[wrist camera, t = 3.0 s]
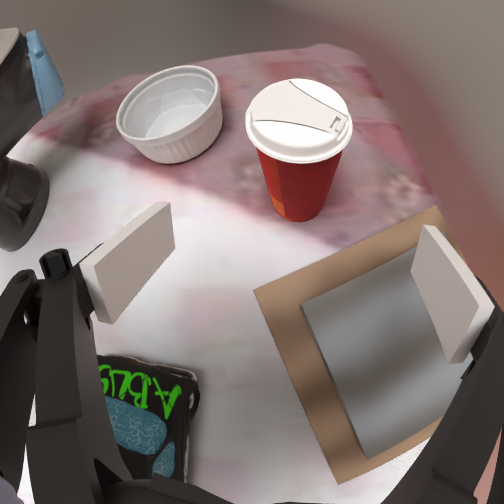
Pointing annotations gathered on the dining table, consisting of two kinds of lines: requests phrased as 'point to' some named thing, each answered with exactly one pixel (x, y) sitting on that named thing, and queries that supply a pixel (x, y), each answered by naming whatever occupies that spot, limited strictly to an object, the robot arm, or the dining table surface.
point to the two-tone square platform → (364, 348)
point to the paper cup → (298, 143)
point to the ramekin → (172, 114)
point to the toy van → (150, 414)
